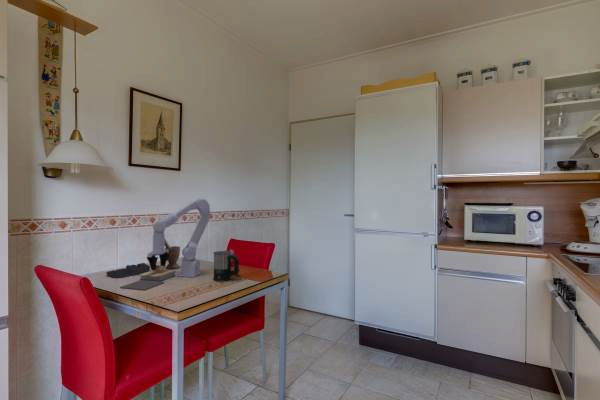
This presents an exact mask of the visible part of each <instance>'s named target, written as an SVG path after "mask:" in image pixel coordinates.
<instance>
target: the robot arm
mask: <svg viewBox="0 0 600 400" xmlns="http://www.w3.org/2000/svg"><path fill="white" fill-rule="evenodd" d="M210 207H211V205H210V204H209V202H208V200H207V199H205V198H197V199H195V200H194V201H190V203H188V204H186V205H185V206H183V207H182V208H180V209H179V210H177V211H176V212H170V213H169V212H168V213H166V215H165V216H164V217H163V218H159V221H155V222H154V223H153V225H152V229H153V232H152V233H153V234H152V250H151V251H150V252H149V253H147V256H146V260H147V262H148V264H149V266H150V271H152V270H155V269H156V265H157V264H158V263H157V262H158V259H159V262H160V265H159V266H164V268H166V264H167V262H168V261H167V259H168V257H169V254H167V253H169V250H165V245H164V244H165V239H166V237H165V235H166V234H165V230H166V228H170V227H171V226H172V225H174V224H175V223H177V222H178V220H179V218H180V217H181V216H184V215H186V214H187V213H189V212H191V211H193V210H195V211H196V210H198V212H199V214H200V218H199V219H198V222H197V224H196V227H195V228H194V231H193V233H192V235H191V237H190V239H189V241H188V243H187V244H186V245H185V247H184V248H183V249H182V251H181V253H182V256H183V257H182V258H181V274H178V277H184V278H185V277H187V278H188V277H189V278H195V277H197V276H199V275H202V274H201V262H200V260H198V259H196V251H197V248H198V245H199V242H200V241H201V238H202V236H203V234H204V232H205V229H206V227H207V225H208V223H209V220H210V219H211V215H212V214H211V208H210Z"/></svg>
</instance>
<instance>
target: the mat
mask: <svg viewBox="0 0 600 400" xmlns="http://www.w3.org/2000/svg"><path fill="white" fill-rule="evenodd" d="M163 284H165V281H150V280H141V279H140V280H136V281H133V282H131V283H128V284H125V285H122V286H120V287H119V289H125V290H134V291H147V290H150V289H152V288H155V287H158V286H160V285H163Z"/></svg>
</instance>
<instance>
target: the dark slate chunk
mask: <svg viewBox="0 0 600 400" xmlns="http://www.w3.org/2000/svg"><path fill="white" fill-rule="evenodd" d="M149 271H151V267H150V264H149V265H148V264H146V263H145V262H141V263H137V264H131V265H130V264H128V265H127V264H126V266H125V268H118V269H115V270H114V269H113V270H109V271H106V275H107V276H110V277H112V278H113V279H116V278H118V279H119V278H120V279H125V278H130V276H131V277H135V276H139V274H142V273H146V272H149ZM118 279H117V280H118ZM120 279H119V280H120Z"/></svg>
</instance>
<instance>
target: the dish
mask: <svg viewBox="0 0 600 400" xmlns="http://www.w3.org/2000/svg"><path fill="white" fill-rule="evenodd" d="M175 276H176V272H175V273H172V274H169V275H166V276H163V277H149V276H140V280H148V281H159V282H164V281H165V280H167V279H170V278H173V277H175Z"/></svg>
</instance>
